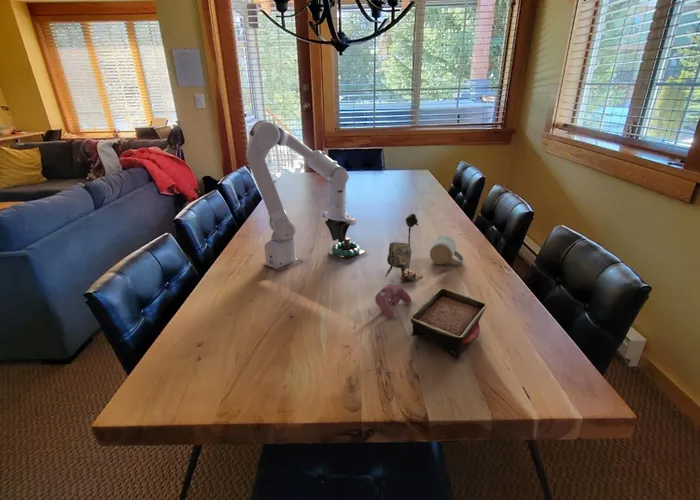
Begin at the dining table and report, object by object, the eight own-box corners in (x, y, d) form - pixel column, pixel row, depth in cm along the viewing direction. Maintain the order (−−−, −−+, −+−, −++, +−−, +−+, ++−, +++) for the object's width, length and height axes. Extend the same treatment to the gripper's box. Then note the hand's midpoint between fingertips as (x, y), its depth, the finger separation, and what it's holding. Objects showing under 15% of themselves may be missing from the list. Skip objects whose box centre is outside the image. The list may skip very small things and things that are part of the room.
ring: (346, 259, 120) (347, 254, 120) (326, 252, 126) (325, 246, 126) (365, 251, 127) (366, 245, 126) (345, 244, 133) (345, 239, 132)
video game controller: (400, 303, 101) (391, 279, 100) (414, 302, 98) (404, 277, 97) (379, 320, 94) (369, 294, 93) (393, 318, 91) (383, 292, 90)
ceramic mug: (428, 264, 119) (430, 242, 116) (431, 254, 126) (433, 233, 123) (462, 269, 116) (465, 246, 113) (463, 258, 123) (466, 237, 120)
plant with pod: (383, 274, 114) (384, 211, 106) (420, 274, 114) (424, 211, 106) (385, 287, 106) (387, 221, 98) (425, 287, 106) (430, 220, 98)
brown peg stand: (348, 263, 121) (347, 245, 119) (328, 256, 127) (327, 239, 124) (365, 254, 127) (365, 237, 125) (345, 248, 133) (345, 231, 130)
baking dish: (490, 339, 87) (495, 299, 84) (455, 370, 74) (460, 323, 71) (434, 321, 96) (438, 284, 94) (395, 345, 83) (397, 303, 80)
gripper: (362, 203, 121) (362, 242, 126) (329, 196, 129) (331, 232, 135) (347, 208, 116) (348, 248, 121) (315, 200, 125) (317, 238, 130)
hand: (338, 240), depth 128 cm, fingers closed
